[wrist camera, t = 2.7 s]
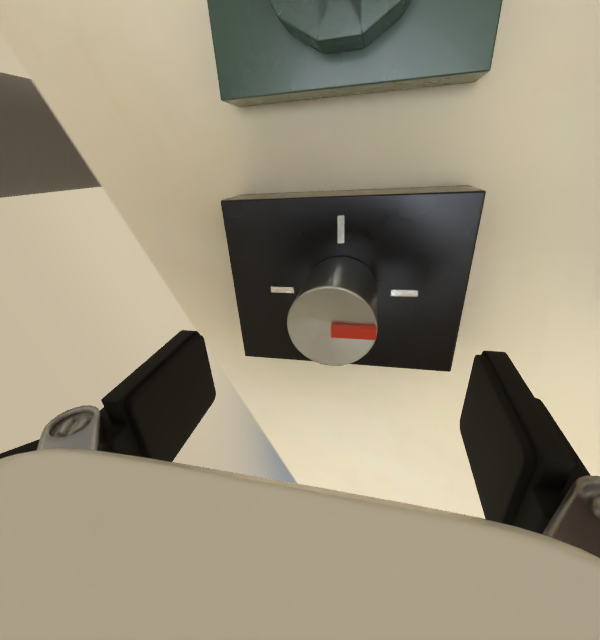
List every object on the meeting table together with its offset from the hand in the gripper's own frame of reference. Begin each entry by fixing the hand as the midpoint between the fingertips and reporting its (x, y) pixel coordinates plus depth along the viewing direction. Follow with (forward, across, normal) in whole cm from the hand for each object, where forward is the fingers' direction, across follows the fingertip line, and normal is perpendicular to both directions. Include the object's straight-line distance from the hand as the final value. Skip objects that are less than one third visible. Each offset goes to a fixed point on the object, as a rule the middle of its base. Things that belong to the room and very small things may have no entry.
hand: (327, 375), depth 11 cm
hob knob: (+8, 0, 0) cm, 8 cm away
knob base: (+11, 0, 0) cm, 11 cm away
